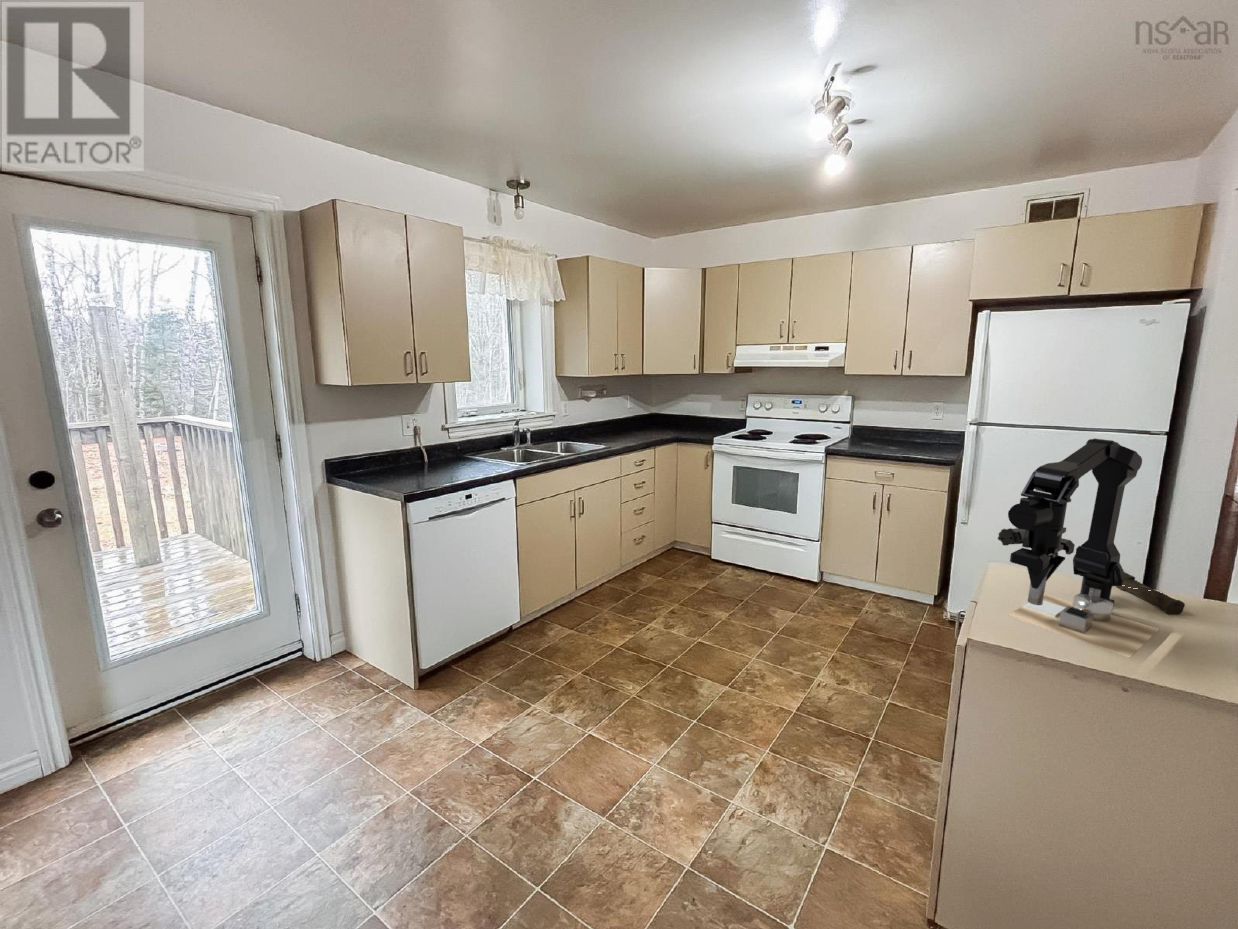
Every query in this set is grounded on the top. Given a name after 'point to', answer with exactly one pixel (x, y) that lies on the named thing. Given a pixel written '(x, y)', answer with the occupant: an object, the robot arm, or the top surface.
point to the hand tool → (1152, 596)
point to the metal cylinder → (1037, 594)
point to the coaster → (1046, 608)
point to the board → (1093, 629)
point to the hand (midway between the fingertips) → (1037, 586)
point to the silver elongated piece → (1086, 611)
